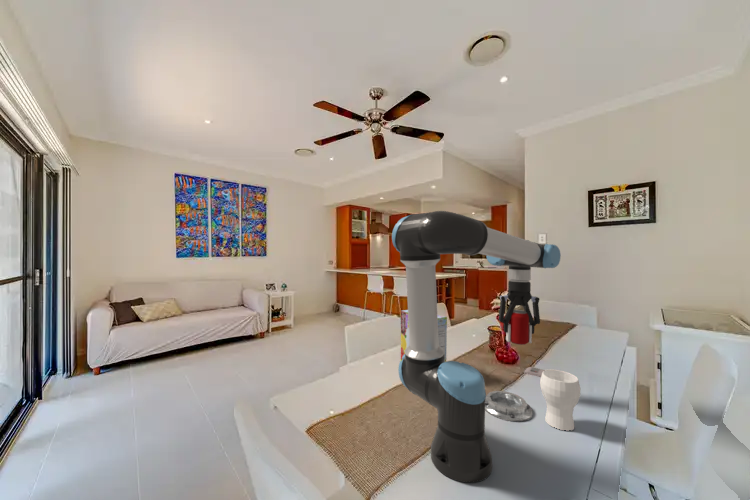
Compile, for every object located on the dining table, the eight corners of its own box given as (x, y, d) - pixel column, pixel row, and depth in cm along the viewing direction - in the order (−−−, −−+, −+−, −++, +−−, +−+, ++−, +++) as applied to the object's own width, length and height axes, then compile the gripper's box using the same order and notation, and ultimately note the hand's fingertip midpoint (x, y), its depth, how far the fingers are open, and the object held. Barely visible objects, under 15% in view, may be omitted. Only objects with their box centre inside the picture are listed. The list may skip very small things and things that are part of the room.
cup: (581, 438, 84) (581, 386, 84) (539, 426, 90) (539, 377, 90) (579, 420, 93) (579, 373, 93) (540, 410, 99) (541, 366, 99)
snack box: (448, 376, 125) (448, 316, 125) (433, 381, 120) (434, 319, 120) (412, 360, 142) (413, 307, 142) (399, 364, 137) (399, 310, 137)
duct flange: (540, 423, 91) (540, 415, 91) (487, 419, 94) (487, 410, 94) (522, 398, 107) (522, 390, 107) (477, 394, 109) (477, 387, 109)
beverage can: (529, 342, 111) (529, 310, 111) (527, 346, 106) (528, 313, 106) (510, 339, 115) (510, 308, 115) (507, 343, 109) (507, 311, 109)
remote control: (523, 368, 135) (523, 361, 135) (562, 378, 125) (563, 371, 125) (519, 373, 130) (519, 366, 130) (560, 383, 120) (560, 376, 120)
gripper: (543, 280, 113) (542, 340, 113) (489, 279, 115) (488, 337, 115) (551, 282, 105) (551, 346, 105) (494, 281, 108) (493, 343, 108)
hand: (518, 341), depth 110 cm, fingers closed on beverage can, 7 cm apart
